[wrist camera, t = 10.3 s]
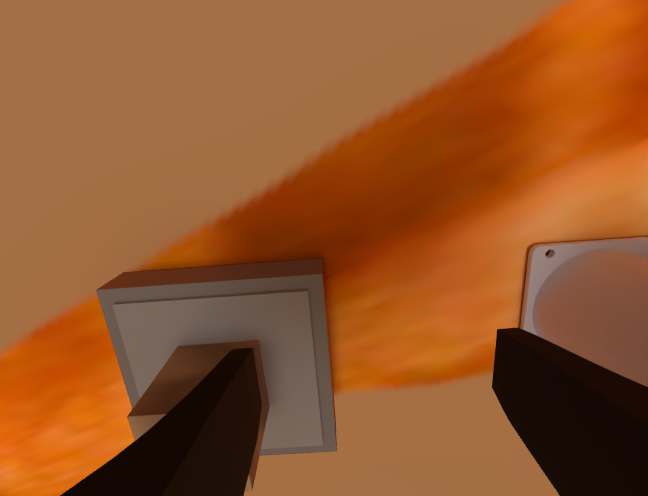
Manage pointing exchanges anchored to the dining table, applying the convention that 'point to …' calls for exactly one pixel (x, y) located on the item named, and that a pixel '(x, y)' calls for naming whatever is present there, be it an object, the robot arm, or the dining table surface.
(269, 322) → the tray
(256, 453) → the block
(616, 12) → the dining table surface
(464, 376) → the dining table surface
